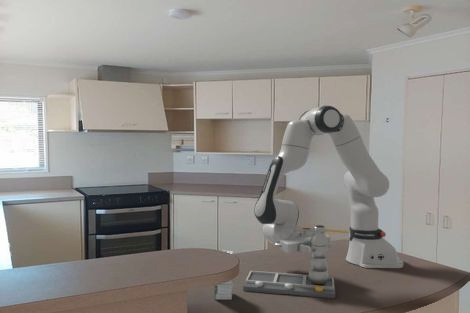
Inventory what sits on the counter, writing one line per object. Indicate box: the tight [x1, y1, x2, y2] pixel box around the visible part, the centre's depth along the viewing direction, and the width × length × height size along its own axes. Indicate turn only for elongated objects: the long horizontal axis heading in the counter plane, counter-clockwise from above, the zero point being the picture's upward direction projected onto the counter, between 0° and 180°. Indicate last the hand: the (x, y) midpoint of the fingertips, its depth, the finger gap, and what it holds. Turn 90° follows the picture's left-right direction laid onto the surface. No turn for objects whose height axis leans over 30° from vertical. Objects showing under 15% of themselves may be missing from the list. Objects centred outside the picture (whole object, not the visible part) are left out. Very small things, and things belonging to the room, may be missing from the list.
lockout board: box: [242, 270, 336, 299], centre depth 137 cm, size 30×14×3 cm, turn 78°
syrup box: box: [213, 250, 234, 301], centre depth 128 cm, size 6×6×14 cm
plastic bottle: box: [308, 224, 330, 284], centre depth 136 cm, size 6×7×20 cm
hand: (321, 248), depth 135 cm, fingers open, 7 cm apart
